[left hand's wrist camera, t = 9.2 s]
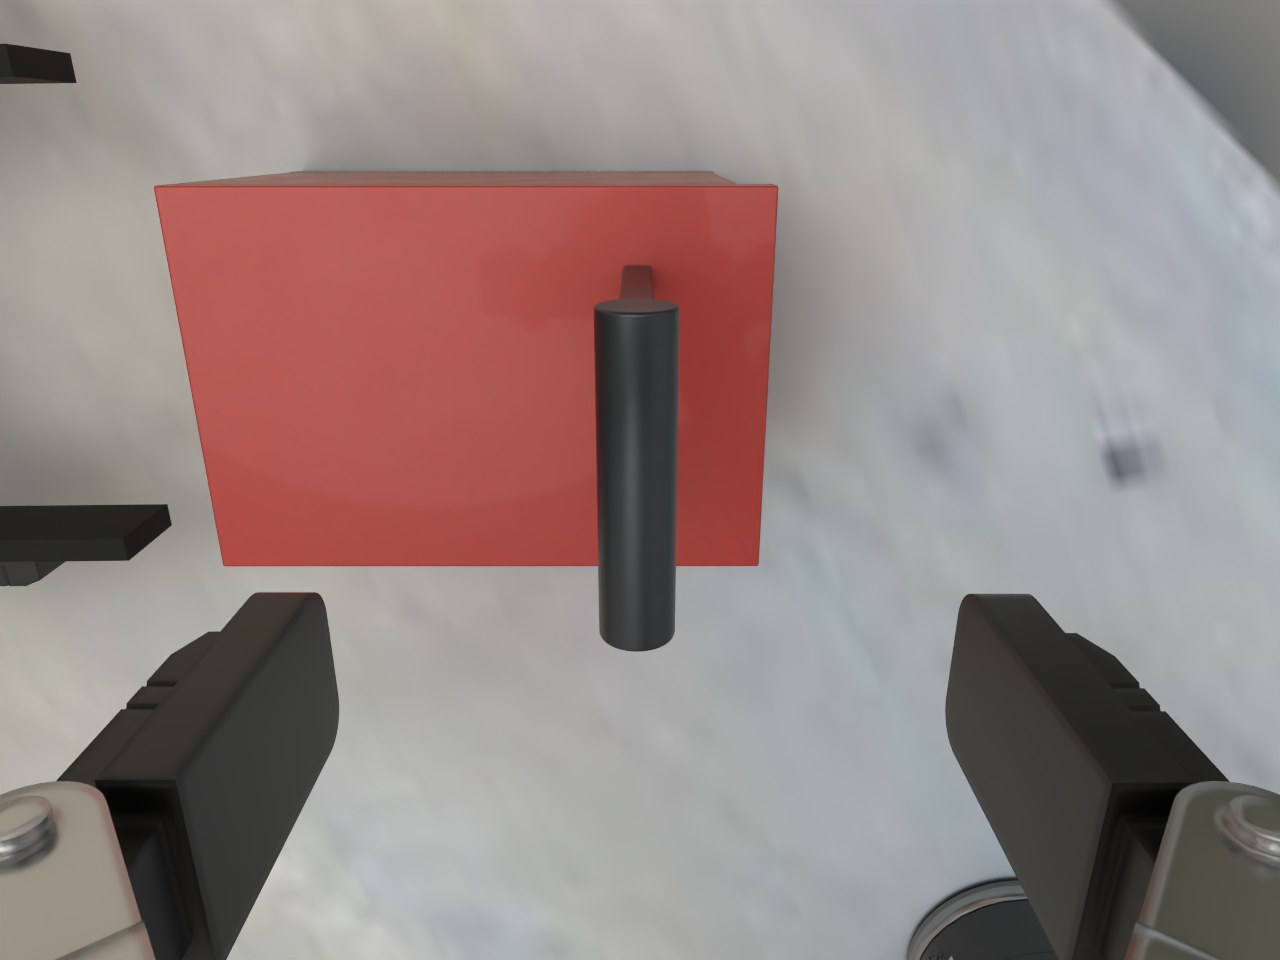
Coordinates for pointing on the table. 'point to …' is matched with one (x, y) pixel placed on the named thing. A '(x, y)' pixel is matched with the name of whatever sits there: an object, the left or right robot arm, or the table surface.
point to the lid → (482, 376)
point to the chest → (480, 177)
